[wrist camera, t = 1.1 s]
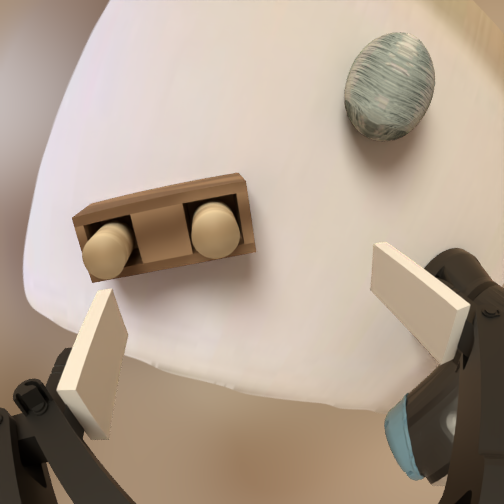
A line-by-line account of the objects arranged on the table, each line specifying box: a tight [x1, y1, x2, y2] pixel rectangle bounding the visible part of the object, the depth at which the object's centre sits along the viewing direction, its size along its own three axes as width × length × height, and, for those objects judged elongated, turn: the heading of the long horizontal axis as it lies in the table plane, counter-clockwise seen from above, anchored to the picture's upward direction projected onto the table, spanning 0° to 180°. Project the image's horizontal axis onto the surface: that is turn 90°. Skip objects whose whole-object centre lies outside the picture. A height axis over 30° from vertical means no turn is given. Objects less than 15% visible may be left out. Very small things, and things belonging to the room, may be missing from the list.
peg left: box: [82, 220, 135, 279], centre depth 28 cm, size 4×4×5 cm
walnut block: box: [72, 173, 256, 283], centre depth 32 cm, size 7×17×6 cm, turn 98°
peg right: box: [192, 200, 240, 259], centre depth 29 cm, size 4×4×5 cm
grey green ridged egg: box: [345, 32, 435, 141], centre depth 29 cm, size 14×10×10 cm
